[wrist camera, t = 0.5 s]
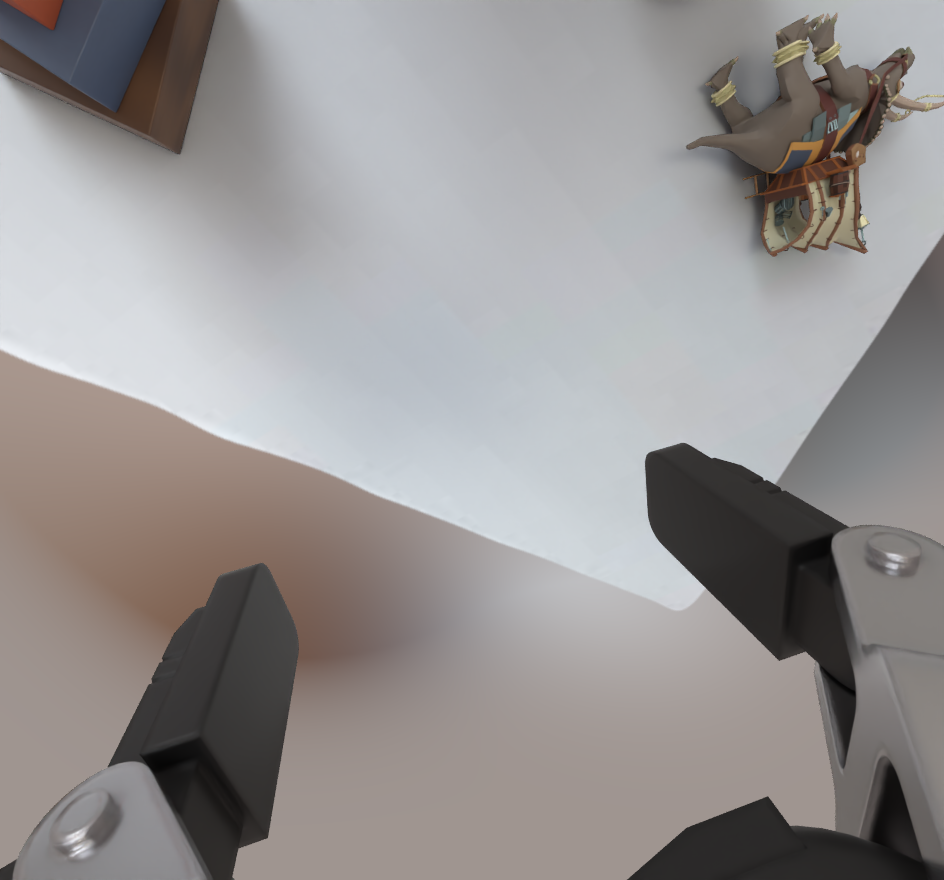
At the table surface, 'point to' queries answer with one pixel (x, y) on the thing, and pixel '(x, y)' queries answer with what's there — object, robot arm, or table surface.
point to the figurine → (813, 136)
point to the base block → (142, 76)
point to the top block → (39, 10)
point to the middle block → (87, 43)
